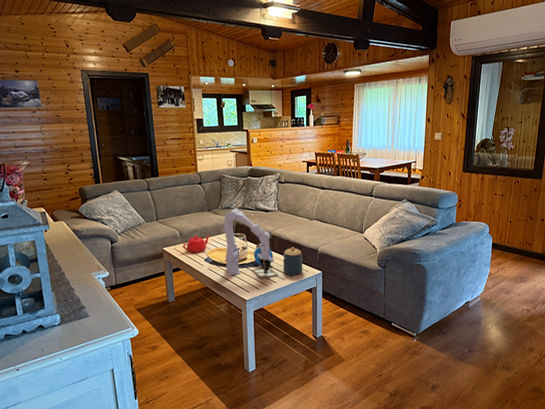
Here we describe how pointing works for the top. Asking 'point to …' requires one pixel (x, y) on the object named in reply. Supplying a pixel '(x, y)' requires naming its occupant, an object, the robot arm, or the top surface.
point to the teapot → (196, 244)
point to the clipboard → (263, 276)
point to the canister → (292, 261)
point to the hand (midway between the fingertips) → (265, 269)
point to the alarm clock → (258, 251)
